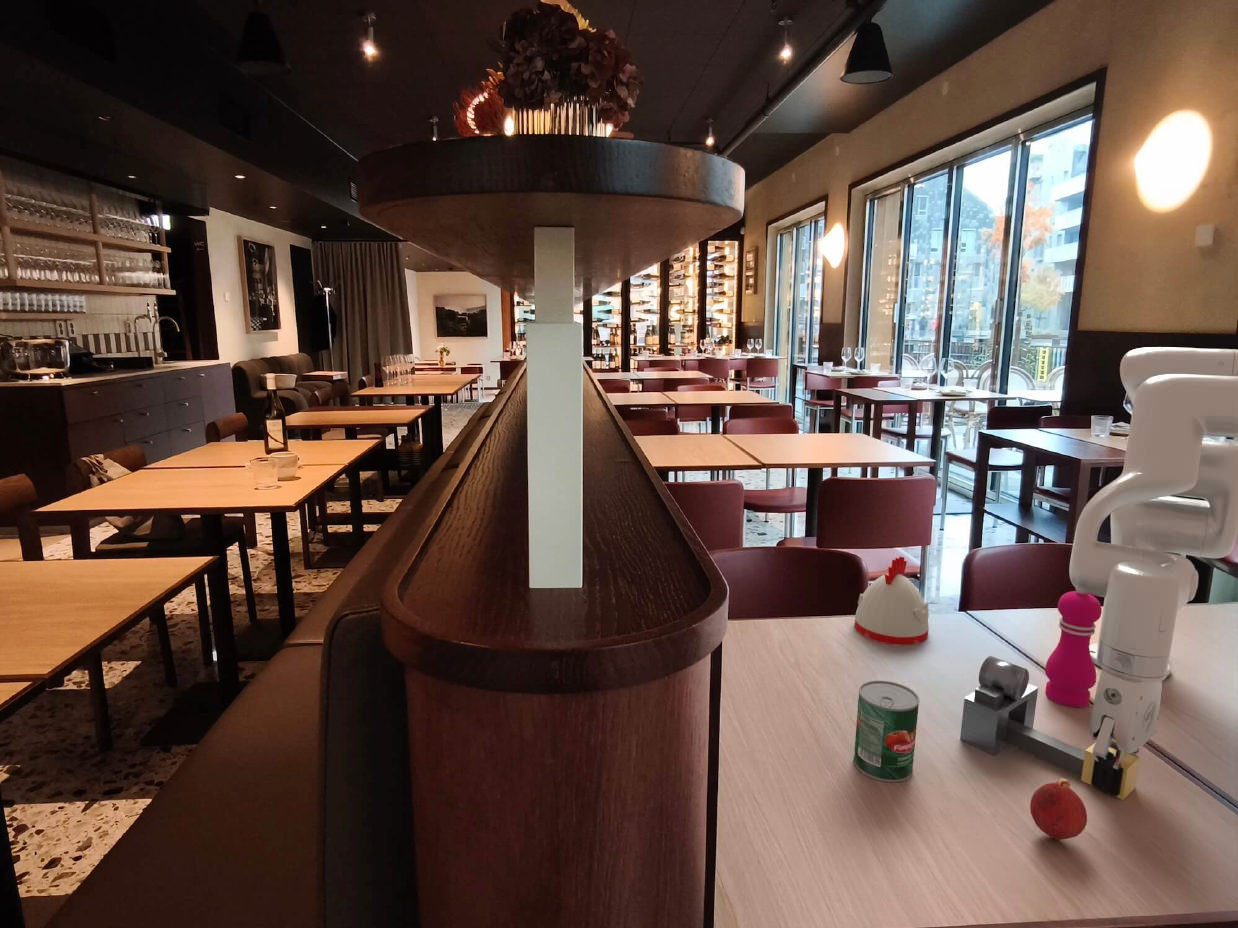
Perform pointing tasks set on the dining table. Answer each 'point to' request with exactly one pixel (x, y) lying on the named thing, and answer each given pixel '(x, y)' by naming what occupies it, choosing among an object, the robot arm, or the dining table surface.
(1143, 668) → the robot arm
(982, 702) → the block
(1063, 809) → the red rounded piece
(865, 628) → the kitchen timer
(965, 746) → the dining table surface
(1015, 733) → the yellow tipped gray bar
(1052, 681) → the pepper mill
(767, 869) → the dining table surface
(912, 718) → the canned tomato
